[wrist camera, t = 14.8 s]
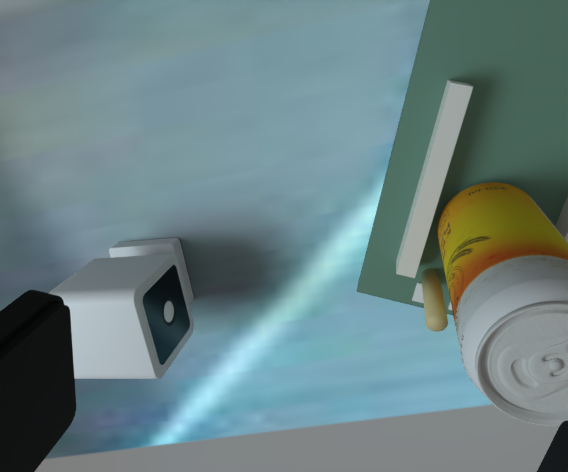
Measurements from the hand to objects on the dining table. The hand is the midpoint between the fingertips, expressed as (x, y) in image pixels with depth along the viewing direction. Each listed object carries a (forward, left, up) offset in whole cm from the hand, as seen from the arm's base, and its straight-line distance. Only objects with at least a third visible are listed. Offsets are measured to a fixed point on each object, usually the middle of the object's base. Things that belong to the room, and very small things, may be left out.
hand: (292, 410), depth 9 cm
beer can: (+3, +9, -24) cm, 26 cm away
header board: (-1, +9, -25) cm, 27 cm away
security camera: (+13, -13, -26) cm, 32 cm away
